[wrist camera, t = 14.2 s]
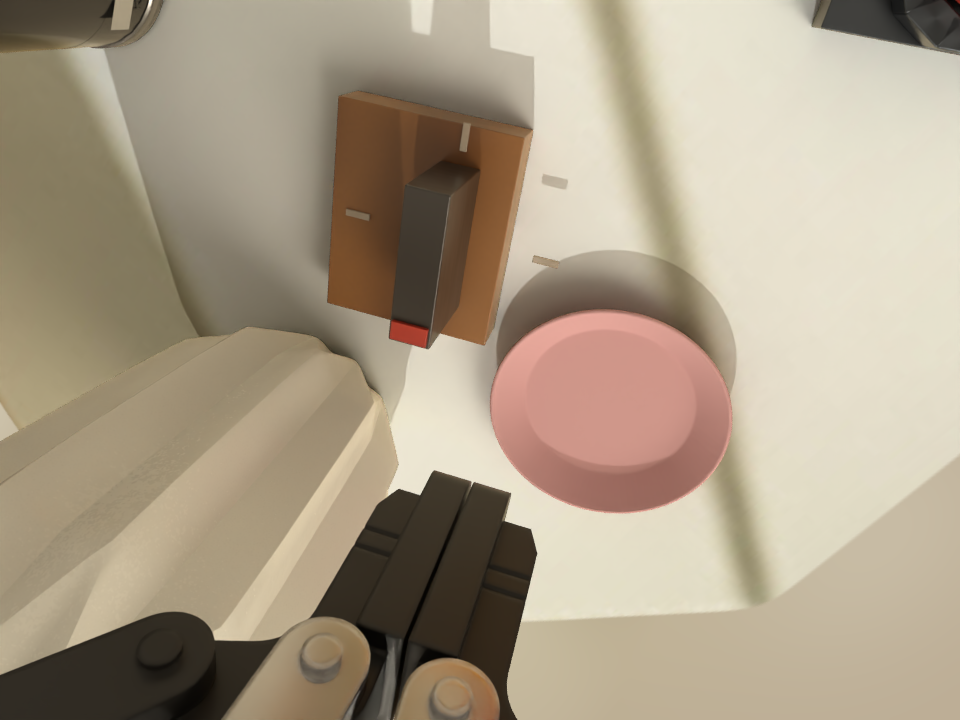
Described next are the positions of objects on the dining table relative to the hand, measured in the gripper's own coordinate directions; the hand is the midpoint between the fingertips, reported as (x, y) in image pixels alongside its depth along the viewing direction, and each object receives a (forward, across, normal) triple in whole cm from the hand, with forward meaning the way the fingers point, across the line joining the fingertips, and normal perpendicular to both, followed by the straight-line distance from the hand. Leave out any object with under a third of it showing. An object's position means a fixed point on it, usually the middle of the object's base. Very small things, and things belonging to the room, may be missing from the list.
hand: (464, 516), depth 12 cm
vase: (+27, +16, +20) cm, 37 cm away
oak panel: (+27, +7, +4) cm, 28 cm away
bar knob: (+24, +7, +4) cm, 26 cm away
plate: (+27, -4, +13) cm, 30 cm away
